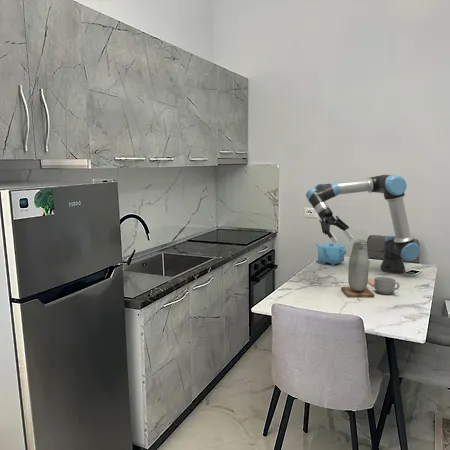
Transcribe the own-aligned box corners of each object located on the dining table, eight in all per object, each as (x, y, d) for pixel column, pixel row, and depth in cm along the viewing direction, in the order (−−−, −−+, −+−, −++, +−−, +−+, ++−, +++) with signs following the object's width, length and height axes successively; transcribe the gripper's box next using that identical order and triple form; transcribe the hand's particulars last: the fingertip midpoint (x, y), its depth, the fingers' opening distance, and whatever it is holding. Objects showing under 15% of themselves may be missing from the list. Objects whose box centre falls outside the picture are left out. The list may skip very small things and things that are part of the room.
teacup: (369, 291, 228) (370, 277, 227) (384, 288, 233) (385, 274, 232) (388, 298, 216) (389, 283, 215) (404, 295, 220) (404, 281, 219)
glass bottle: (365, 294, 217) (368, 242, 214) (345, 291, 222) (348, 240, 219) (369, 289, 226) (371, 239, 222) (350, 286, 231) (352, 237, 227)
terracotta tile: (385, 280, 248) (385, 279, 248) (393, 286, 236) (393, 285, 236) (365, 280, 248) (365, 279, 248) (371, 286, 237) (372, 284, 236)
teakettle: (347, 266, 284) (348, 245, 282) (320, 266, 283) (321, 245, 281) (339, 260, 302) (340, 240, 300) (313, 260, 302) (314, 240, 300)
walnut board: (366, 289, 231) (366, 287, 231) (374, 297, 217) (374, 294, 217) (341, 289, 231) (341, 286, 231) (347, 297, 217) (347, 294, 217)
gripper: (334, 214, 248) (353, 242, 238) (305, 217, 234) (324, 247, 224) (341, 206, 243) (362, 234, 233) (312, 208, 229) (332, 239, 219)
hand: (343, 240), depth 229 cm, fingers open, 13 cm apart
